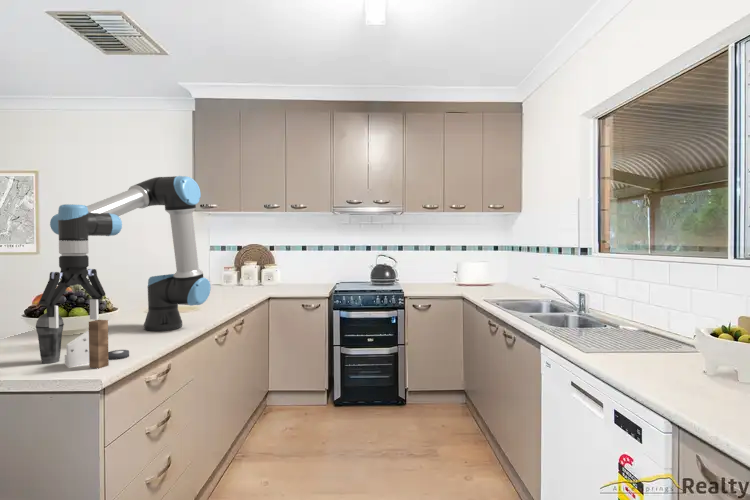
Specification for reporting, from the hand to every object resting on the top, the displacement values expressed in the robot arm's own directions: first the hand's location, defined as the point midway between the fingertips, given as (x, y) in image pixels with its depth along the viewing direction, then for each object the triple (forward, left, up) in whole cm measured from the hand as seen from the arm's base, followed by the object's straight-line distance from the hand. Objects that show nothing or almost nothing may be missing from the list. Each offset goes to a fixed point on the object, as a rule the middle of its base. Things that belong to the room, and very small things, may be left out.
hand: (75, 323), depth 135 cm
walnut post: (0, +9, -13) cm, 16 cm away
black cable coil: (-10, +6, -13) cm, 17 cm away
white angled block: (0, 0, -13) cm, 13 cm away
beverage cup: (0, -10, -13) cm, 16 cm away
